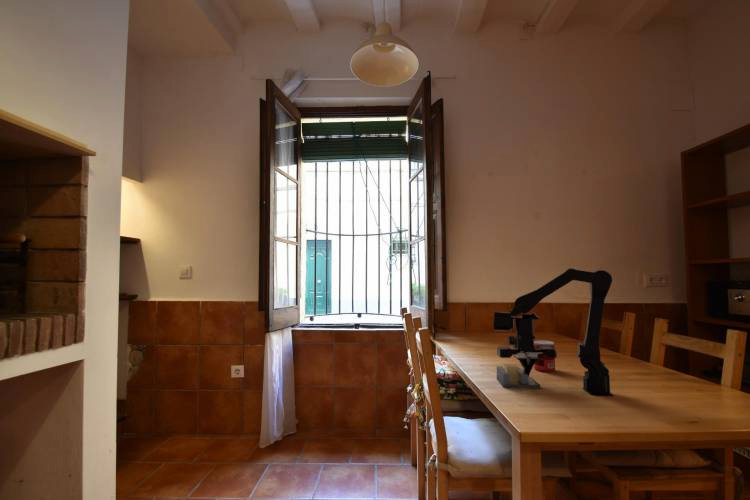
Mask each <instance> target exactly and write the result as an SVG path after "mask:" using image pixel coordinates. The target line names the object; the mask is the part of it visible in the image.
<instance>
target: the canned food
mask: <svg viewBox="0 0 750 500" xmlns="http://www.w3.org/2000/svg"><path fill="white" fill-rule="evenodd" d="M540 346H550V347H551V348H553V349H555V348H556V347H555V342H554V341H549V340H543V339H542V340H534V347H535V349H539V347H540ZM555 350H556V349H555ZM537 358H539V360H536V362H535V364H534V365H533V367H534V368H533V369H534V370H535V371H537V372H540V373H541V372H542V373H554V372H555V370H556V358H547V357H546V356H545V355H538V356H537Z"/></svg>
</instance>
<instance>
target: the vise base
mask: <svg viewBox="0 0 750 500" xmlns="http://www.w3.org/2000/svg"><path fill="white" fill-rule="evenodd" d="M496 380H497V381H498V383H499V384H500V385H501V386H502V388H504V389H505V388H506V389H535V390H536V389H538V390H539V389H540V390H541V384H540V383H539V382H538V381H537V380H536V379H534V378H533V377H531V376H529V377H528V384H522V383H521V382H520V381H519V382H510V376H509V373H508V372H507V371H506V370H505V369H504V366H501V365H500V366H499V365H498V366H497V365H496Z"/></svg>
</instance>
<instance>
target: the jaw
mask: <svg viewBox="0 0 750 500" xmlns="http://www.w3.org/2000/svg"><path fill="white" fill-rule="evenodd" d="M518 367H519V366H518ZM519 381H520V382H521V383H522V384H528V374H526V373H525V372H524V370H523V368H521V367H519Z"/></svg>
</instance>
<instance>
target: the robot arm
mask: <svg viewBox="0 0 750 500" xmlns="http://www.w3.org/2000/svg"><path fill="white" fill-rule="evenodd" d="M572 281H576V282H583V283H589V293H590V301H589V307H588V315H587V322H586V329H585V337H584V339H583V342H580V341H577V351H576V355H577V358H578V360H579V362H580V364H581V366H582V367H583V368H584V369H587V370H586V371H584V375H583V376H582V380H583V381H582V383H583V385H582V386H583V387H582V389H583V390H585V391H586V392H587V393H588V394H590V395H592V396H614V394H613V393H612V392H611V383H610V381H611V380H610V374H609V372H610V370H609V369H608V367H607V366H606V364H605V363H604V362H603V361H601V359H602V358H601V350H600V337H601V335H600V334H601V328H602V322H603V321H602V320H603V313H604V307H605V300H606V298H607V295H608V293H609V291H610V289H611V286H612V282H613V277H612V275H611V274H610V272H608V271H606V270H604V269H603V270H600V269H599V270H594V271H589V270H588V271H586V270H581V269H580V270H579V269H575V268H572V267H571V268H568V269H566V270H565V271H564V272H563V273H561V274H559V275H557V276H556V277H554V278H553V279H551V280H550V281H548V282H546V283H545V284H543V285H541V286H540V287H538V288H537V289H535V290H532V291H530V292H527V293H525V294H522V295H520V296H518V297H517V298H516V299H515V300H514V304H513V305H514V307H513V308H512V309H511V310H510V312H509V311H507V312H505V311H504V312H503V311H502V312H501V311H494V312H493V315H494V316H493V322H492V323H493V325H492V326H493V331H496V332H499V331H500V332H512V329H515V337H514V336H513V335H508V336H507V346H498V347H497V348H496V354H497V356H498V357H500V358H501V359H504V358H505V359H510V358H511V357H512V356H514V358H515V359H517V360H518V361H519V362H520V365H521V367H522V370H523V371H524V372H525V373H526V374H528V377H530V374H531V372H532V371H533V367H534V364H535V362H536V360H539V358H537V356H538V355H545V356H546V357H547V358H555V359H556V358H557V357H558V356H557V355H558V354H557V353H558V352H557V351H556V349H553V348H551V347H550V346H540V347H539V349H535V347H534V341H535V339H536V336H535V334H534V333H535V332H534V331H535V330H534V321H536V320H538V321H539V316H538V315H537V314H536V313H535V312H534V311H532V312H531V313H530V311H531V310H533V309H534V308H535V306H537V305H538V304H539V303H540V302H541V301H542V300H543V299H545V298H546V297H548V296H549V295H551V294H553V293H555V292H556V291H558V290H559V289H561V288H563V287H564V286H566V285H568V284H570V283H571V282H572ZM529 313H530V314H529ZM520 314H522V315H521V316H519V315H520ZM509 346H513V348H511V347H509Z"/></svg>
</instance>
